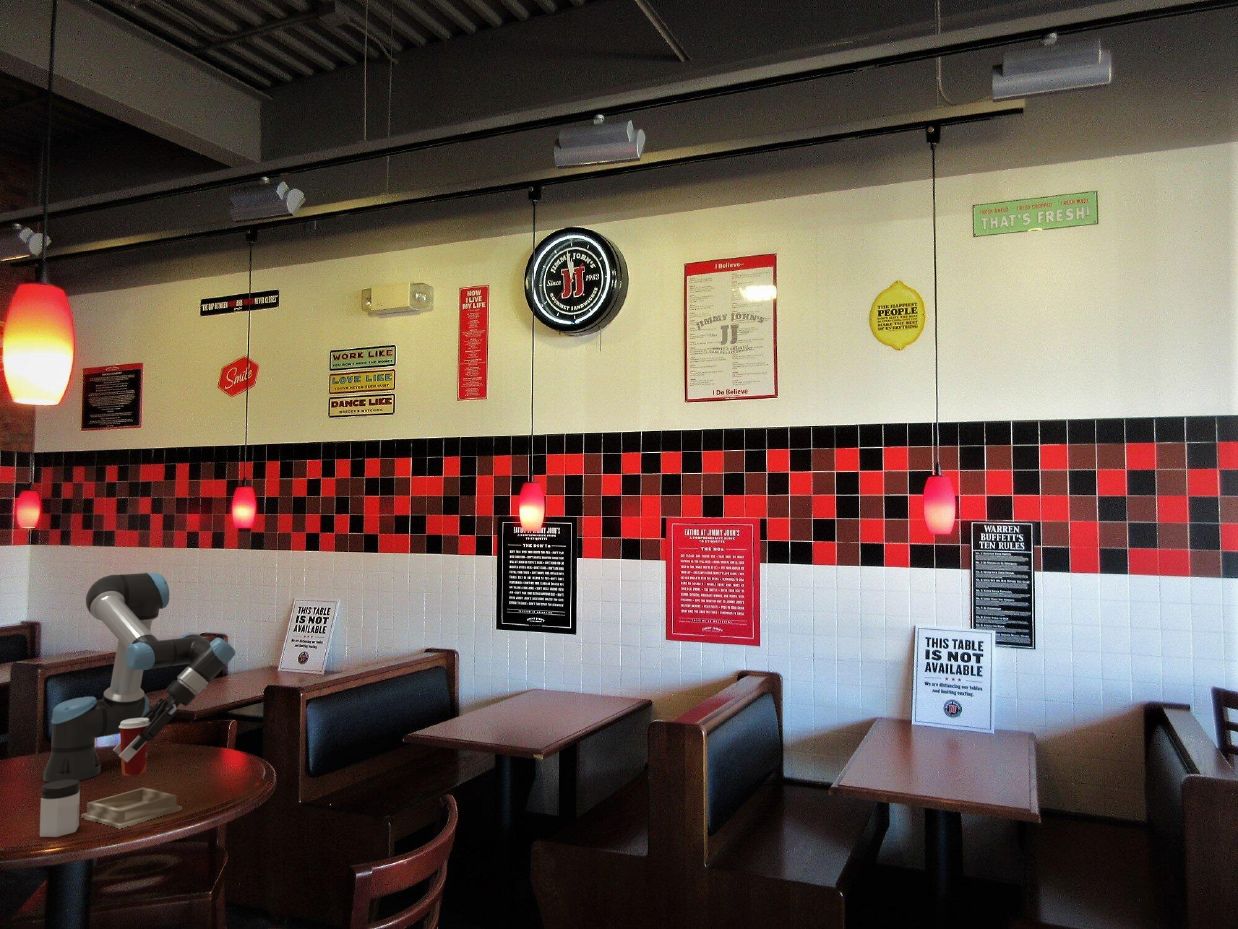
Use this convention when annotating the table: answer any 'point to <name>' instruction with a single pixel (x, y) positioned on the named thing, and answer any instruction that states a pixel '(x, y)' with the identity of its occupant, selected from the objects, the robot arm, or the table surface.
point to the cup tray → (131, 807)
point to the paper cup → (127, 735)
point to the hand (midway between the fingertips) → (119, 756)
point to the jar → (59, 808)
